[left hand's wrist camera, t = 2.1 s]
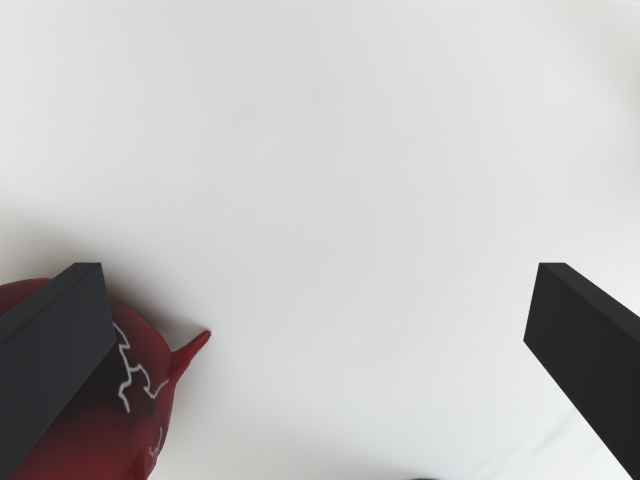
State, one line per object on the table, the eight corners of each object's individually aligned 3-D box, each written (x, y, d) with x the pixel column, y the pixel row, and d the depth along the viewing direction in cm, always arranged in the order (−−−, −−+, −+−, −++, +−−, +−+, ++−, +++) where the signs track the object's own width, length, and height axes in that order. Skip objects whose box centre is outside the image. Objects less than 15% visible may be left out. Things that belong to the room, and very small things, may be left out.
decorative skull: (47, 609, 40) (181, 571, 28) (-269, 547, 31) (-279, 450, 18) (134, 403, 56) (243, 323, 44) (-54, 322, 47) (18, 190, 35)
